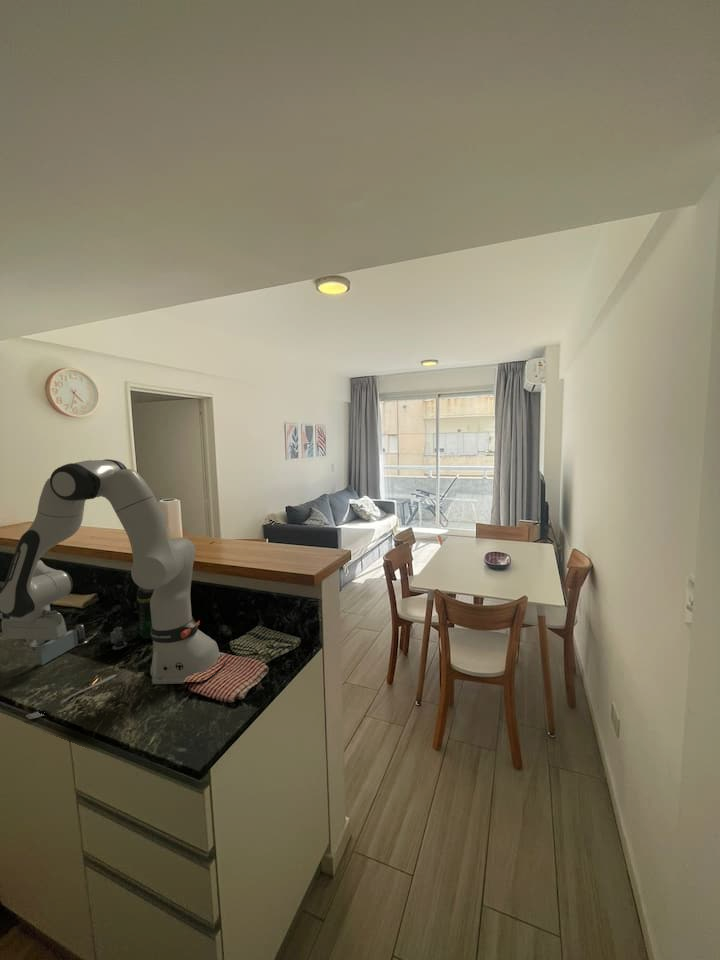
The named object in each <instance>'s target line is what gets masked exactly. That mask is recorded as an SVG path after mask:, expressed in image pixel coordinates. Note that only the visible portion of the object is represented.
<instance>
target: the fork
mask: <svg viewBox="0 0 720 960" xmlns="http://www.w3.org/2000/svg"><path fill="white" fill-rule="evenodd" d="M116 676H118V674H117V673H116V674H112V675H110V676H108V677H106V678H104V679H102V680H100V681H98V682H97V683H93V684H92V685H90V686H88V687H86V688H84V689H81V690H80V691H77V692H75V693H73V694H71V695H69V696H68V697H67V698H65V699H64V700H62V701H61V702H66V703H67V702H68V701H69V700H70V699H71V698H72V697H74V696H76V695H79V694H81V693H83V692H86V691H88V690H90V689H92V688H95V687H97V686H99V685H102V684H104V683H106V682H108V681H109V680H112V679H113V678H115V677H116ZM44 716H45V715H44V714H42V713H41V714H40V713H39V711H36V712H32V713H29V714H26V715H25V717H26V718H27V719H28V720H32V719H36V718H40V717H44Z"/></svg>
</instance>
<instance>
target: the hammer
mask: <svg viewBox="0 0 720 960" xmlns="http://www.w3.org/2000/svg"><path fill="white" fill-rule="evenodd" d="M109 633H110V641H111V642H110V644H111V645H113V646H112V648H111V649H112V650H113V651H119V650H122V649H125V648H126V647H127V646H128V642H125V639H124V630H123V627H122V626H118V627H117V626H116V627H115V628H113V630H112V631H111V632H109Z"/></svg>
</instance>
